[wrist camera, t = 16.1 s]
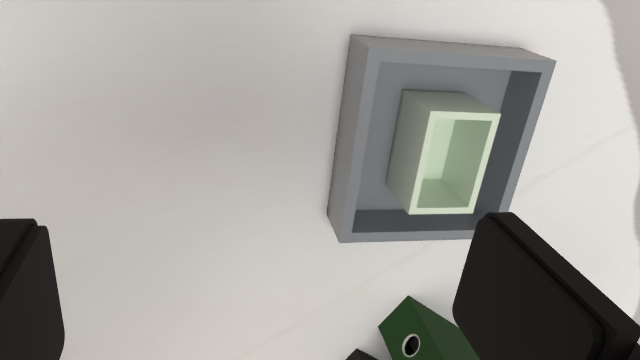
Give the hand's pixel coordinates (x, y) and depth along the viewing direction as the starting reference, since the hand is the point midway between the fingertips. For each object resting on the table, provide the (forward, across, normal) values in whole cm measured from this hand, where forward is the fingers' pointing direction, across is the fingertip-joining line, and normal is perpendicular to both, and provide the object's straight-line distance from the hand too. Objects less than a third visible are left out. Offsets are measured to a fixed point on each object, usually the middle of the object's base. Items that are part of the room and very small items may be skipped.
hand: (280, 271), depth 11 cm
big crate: (+30, -18, +8) cm, 36 cm away
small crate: (+29, -18, +8) cm, 35 cm away
